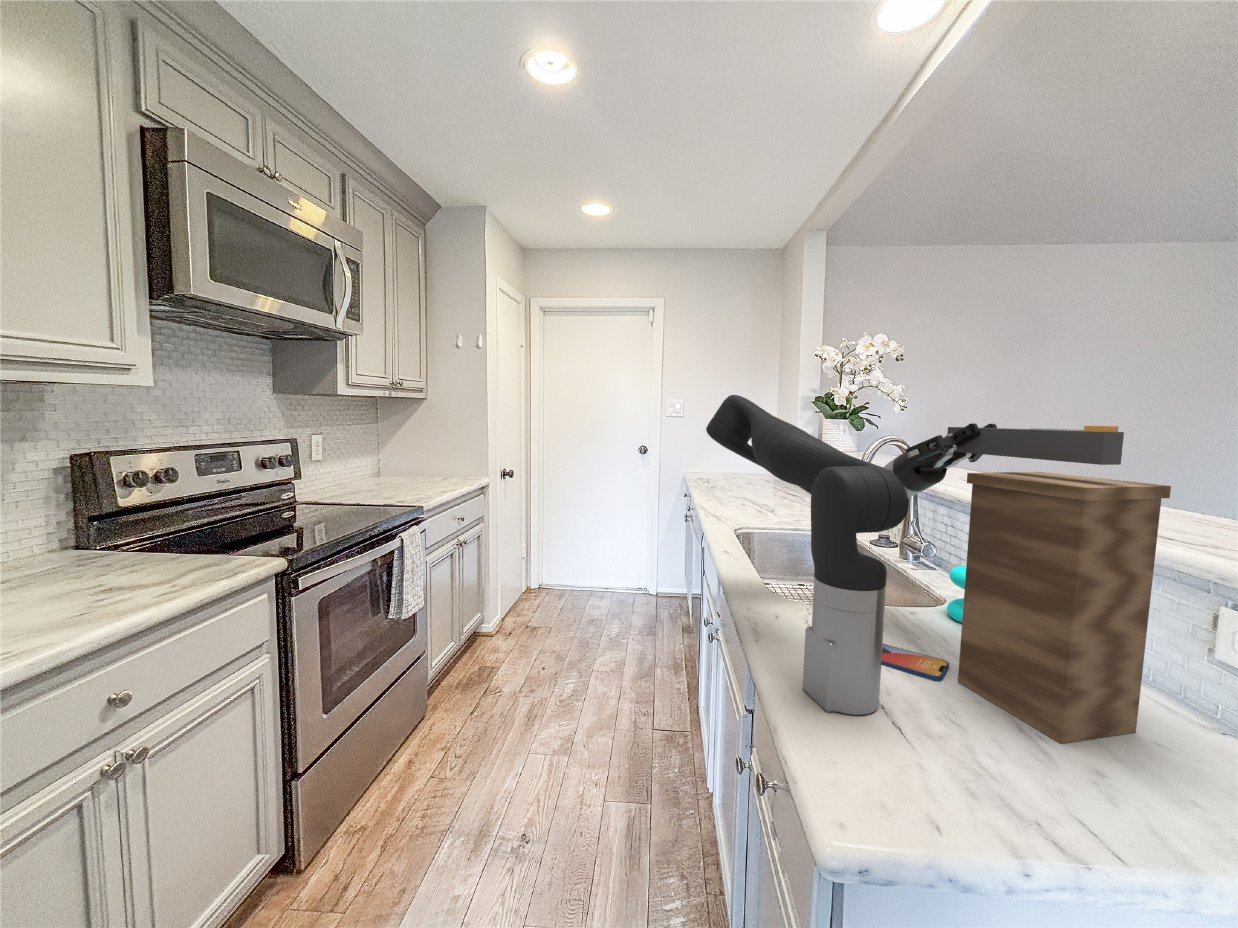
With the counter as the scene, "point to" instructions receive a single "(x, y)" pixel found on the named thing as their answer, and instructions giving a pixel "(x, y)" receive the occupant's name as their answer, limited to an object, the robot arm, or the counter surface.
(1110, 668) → the wooden lidded box
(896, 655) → the smartphone
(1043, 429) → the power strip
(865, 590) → the robot arm
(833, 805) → the counter surface
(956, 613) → the turquoise spool
